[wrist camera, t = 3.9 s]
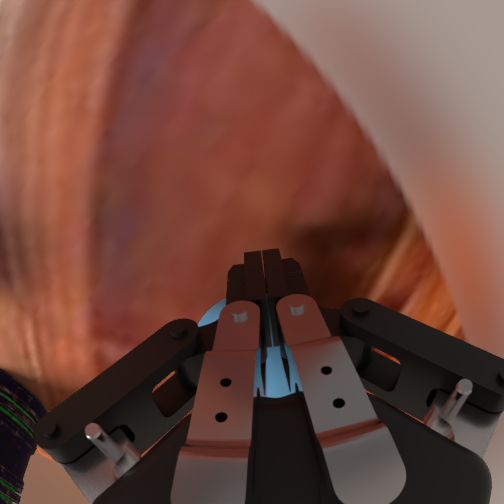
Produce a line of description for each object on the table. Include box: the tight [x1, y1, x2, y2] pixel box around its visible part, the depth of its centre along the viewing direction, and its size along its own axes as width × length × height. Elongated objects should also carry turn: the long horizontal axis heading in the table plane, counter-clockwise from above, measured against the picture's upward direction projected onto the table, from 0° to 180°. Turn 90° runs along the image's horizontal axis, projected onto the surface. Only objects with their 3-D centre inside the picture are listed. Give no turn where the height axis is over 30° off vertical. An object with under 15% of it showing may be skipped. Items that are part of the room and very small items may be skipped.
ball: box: [198, 294, 289, 398], centre depth 14 cm, size 6×6×6 cm
